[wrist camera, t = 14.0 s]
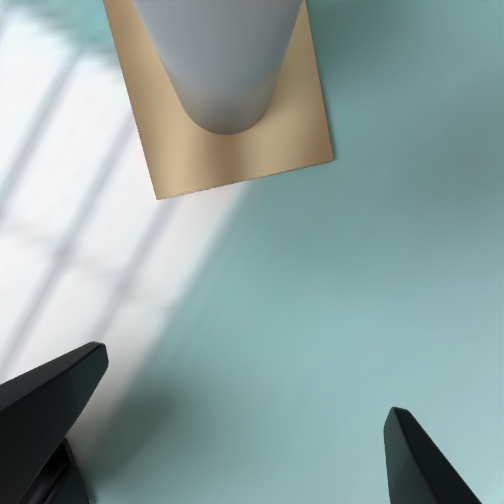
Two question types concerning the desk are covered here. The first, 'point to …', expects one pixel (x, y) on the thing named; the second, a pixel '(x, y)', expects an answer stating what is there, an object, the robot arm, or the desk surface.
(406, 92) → the desk surface
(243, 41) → the canister
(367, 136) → the desk surface
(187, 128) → the mat
